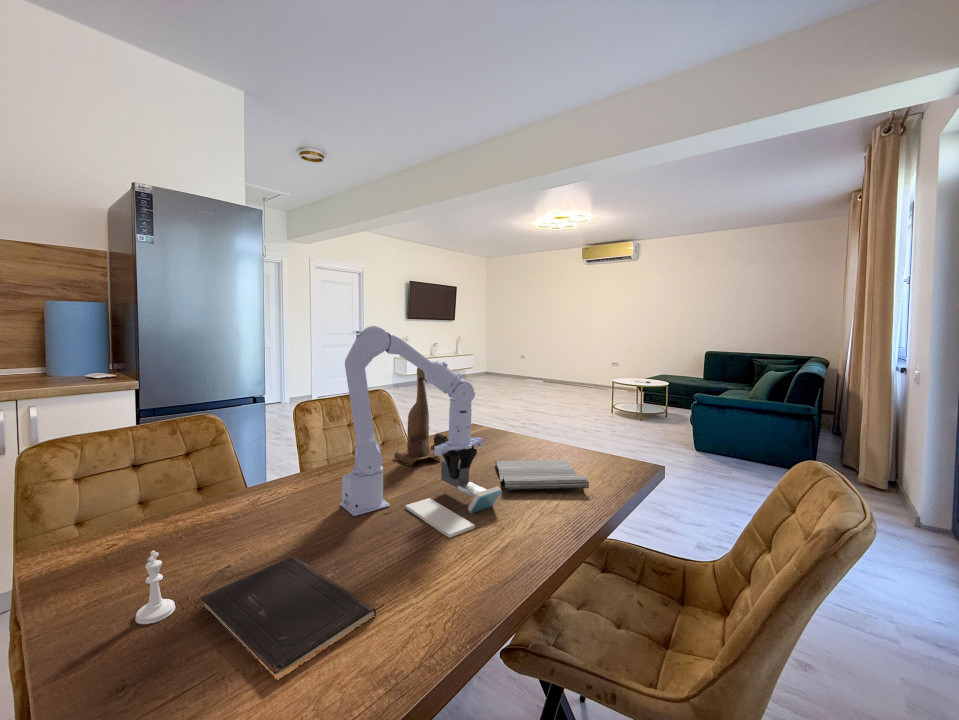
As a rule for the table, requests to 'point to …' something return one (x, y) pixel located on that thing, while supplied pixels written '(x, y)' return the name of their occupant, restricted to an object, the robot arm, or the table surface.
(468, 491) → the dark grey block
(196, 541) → the table surface
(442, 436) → the hand tool
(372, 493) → the robot arm
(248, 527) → the table surface
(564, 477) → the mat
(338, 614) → the hardcover book
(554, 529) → the table surface
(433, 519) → the board
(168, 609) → the chess piece
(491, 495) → the tile
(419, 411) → the bird sculpture
